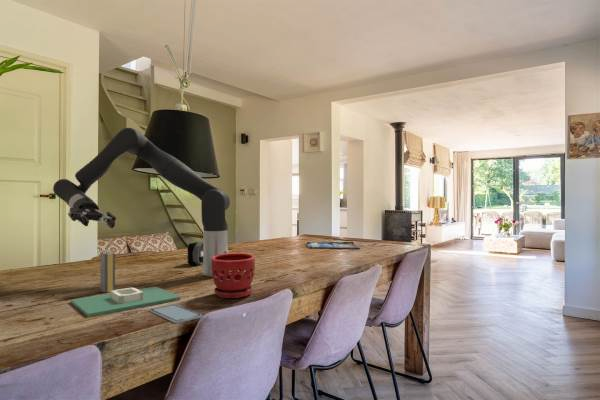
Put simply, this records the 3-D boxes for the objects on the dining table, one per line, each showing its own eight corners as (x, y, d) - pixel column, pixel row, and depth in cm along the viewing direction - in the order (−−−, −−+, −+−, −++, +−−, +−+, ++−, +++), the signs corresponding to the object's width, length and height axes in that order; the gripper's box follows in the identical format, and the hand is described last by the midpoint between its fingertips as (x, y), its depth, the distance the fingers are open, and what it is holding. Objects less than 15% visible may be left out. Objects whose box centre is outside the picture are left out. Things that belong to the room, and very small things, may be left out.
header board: (155, 288, 121) (155, 280, 121) (180, 299, 107) (180, 290, 107) (70, 302, 104) (70, 292, 104) (87, 317, 91) (87, 305, 91)
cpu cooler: (198, 266, 162) (198, 243, 162) (186, 266, 163) (186, 243, 163) (208, 262, 172) (208, 241, 172) (197, 262, 173) (197, 240, 174)
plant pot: (207, 292, 116) (207, 254, 116) (248, 288, 122) (248, 252, 122) (215, 302, 104) (215, 260, 104) (260, 298, 110) (260, 257, 110)
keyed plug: (110, 288, 121) (110, 251, 121) (115, 291, 117) (115, 253, 117) (100, 290, 119) (100, 252, 119) (105, 292, 115) (105, 254, 115)
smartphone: (174, 304, 102) (203, 314, 92) (174, 307, 102) (203, 318, 92) (148, 309, 97) (175, 321, 86) (148, 312, 97) (175, 325, 86)
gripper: (65, 194, 130) (81, 212, 120) (106, 200, 141) (124, 216, 132) (59, 214, 131) (74, 233, 121) (100, 217, 142) (117, 235, 133)
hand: (100, 224), depth 126 cm, fingers open, 8 cm apart
